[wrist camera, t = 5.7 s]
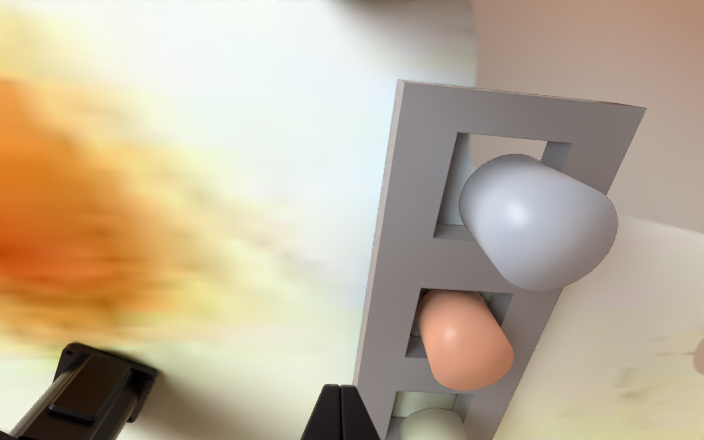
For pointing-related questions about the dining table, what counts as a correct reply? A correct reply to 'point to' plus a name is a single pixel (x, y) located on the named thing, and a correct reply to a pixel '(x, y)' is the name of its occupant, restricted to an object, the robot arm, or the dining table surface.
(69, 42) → the dining table surface
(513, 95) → the button panel
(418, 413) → the sage button
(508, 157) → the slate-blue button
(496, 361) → the terracotta button
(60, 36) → the dining table surface
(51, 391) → the robot arm
